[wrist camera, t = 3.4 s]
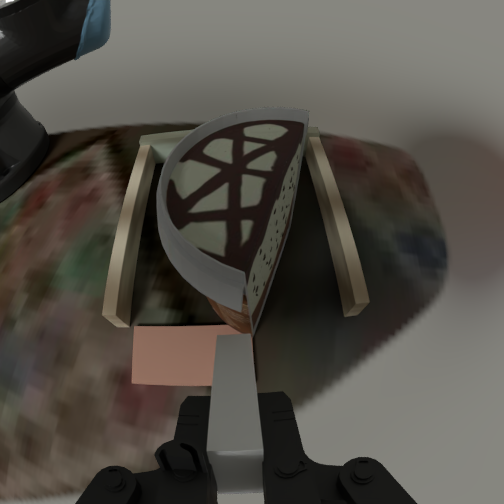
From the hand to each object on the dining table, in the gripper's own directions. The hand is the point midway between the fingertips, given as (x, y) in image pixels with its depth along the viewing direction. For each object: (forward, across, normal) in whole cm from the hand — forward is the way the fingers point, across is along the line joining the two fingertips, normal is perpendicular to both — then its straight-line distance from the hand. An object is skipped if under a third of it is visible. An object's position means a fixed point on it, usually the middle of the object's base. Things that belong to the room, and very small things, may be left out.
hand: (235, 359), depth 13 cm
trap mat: (+5, -3, -3) cm, 6 cm away
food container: (+9, 0, +2) cm, 9 cm away
